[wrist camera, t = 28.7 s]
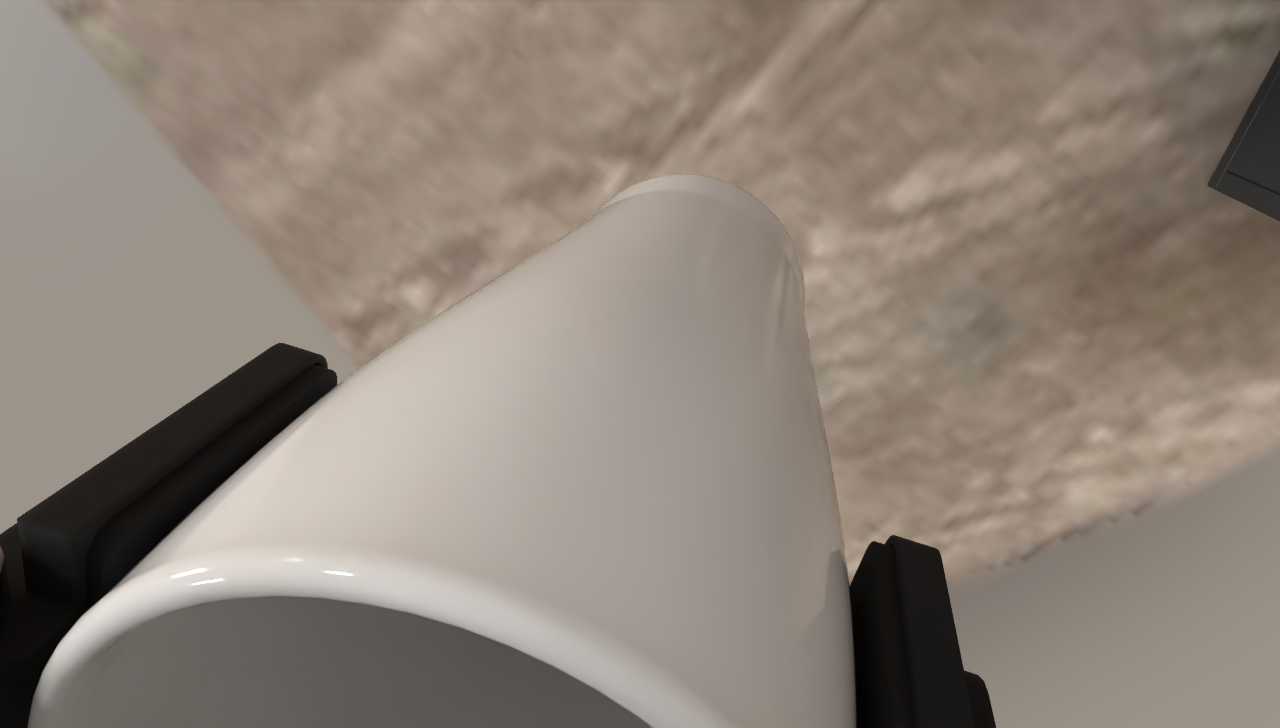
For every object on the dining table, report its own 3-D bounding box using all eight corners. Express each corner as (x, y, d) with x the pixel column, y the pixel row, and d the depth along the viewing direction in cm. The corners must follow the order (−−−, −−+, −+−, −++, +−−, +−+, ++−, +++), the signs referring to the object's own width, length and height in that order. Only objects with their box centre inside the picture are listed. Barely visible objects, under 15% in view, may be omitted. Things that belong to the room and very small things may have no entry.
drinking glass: (900, 303, 19) (1079, 1080, 6) (678, 457, 22) (445, 1221, 8) (702, 66, 18) (330, 342, 4) (493, 262, 21) (-121, 797, 7)
